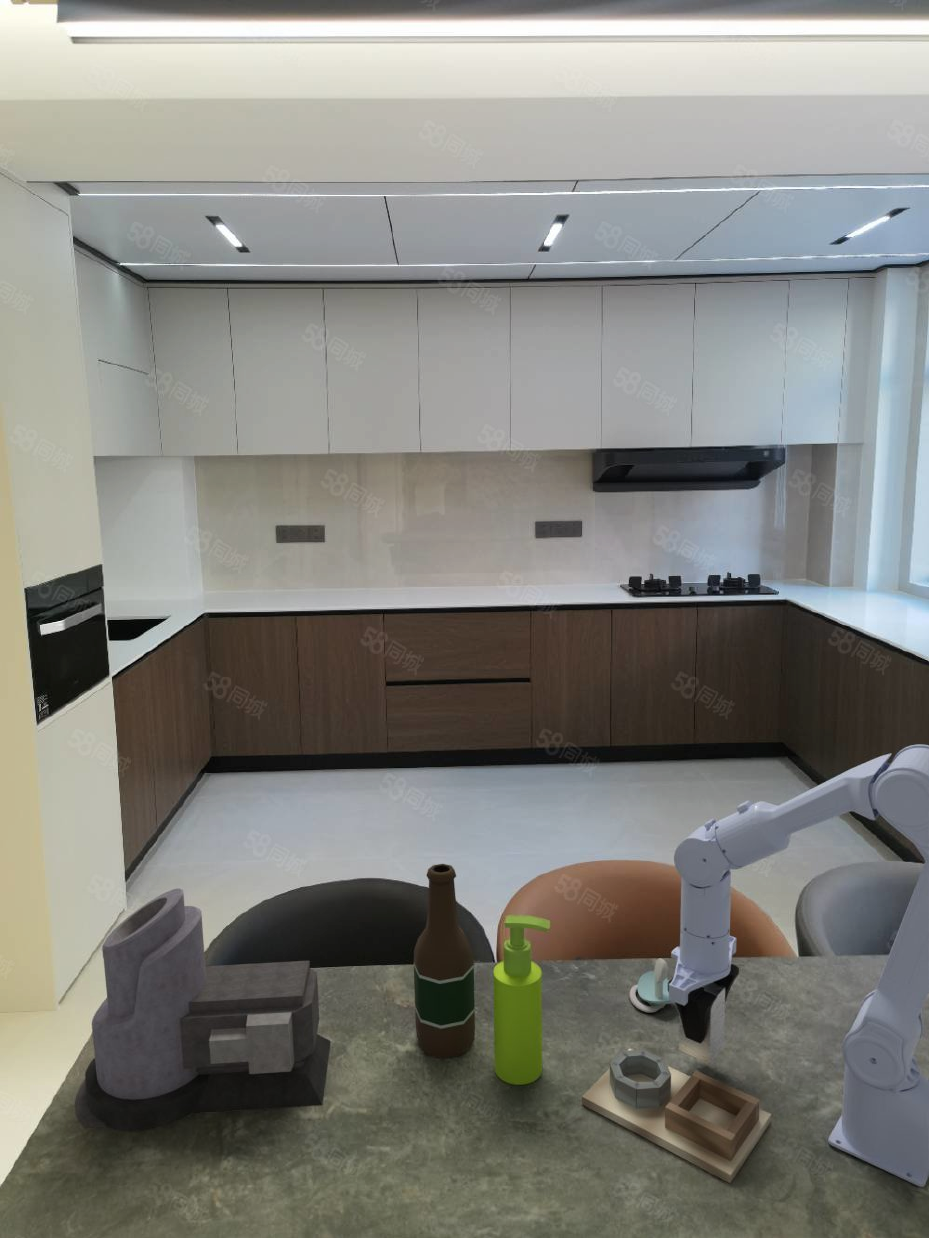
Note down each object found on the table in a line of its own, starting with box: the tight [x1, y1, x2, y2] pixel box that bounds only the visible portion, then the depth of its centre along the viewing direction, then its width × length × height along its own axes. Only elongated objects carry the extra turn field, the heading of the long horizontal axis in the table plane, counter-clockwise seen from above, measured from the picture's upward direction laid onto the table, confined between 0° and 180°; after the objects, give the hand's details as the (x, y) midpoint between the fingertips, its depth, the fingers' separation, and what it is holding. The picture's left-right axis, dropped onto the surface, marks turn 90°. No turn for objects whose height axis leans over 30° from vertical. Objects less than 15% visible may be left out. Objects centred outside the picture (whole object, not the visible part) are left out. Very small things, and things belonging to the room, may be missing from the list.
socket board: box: [581, 1048, 772, 1184], centre depth 98 cm, size 18×11×4 cm, turn 50°
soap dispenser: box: [492, 914, 551, 1086], centre depth 104 cm, size 6×7×20 cm
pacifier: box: [629, 958, 675, 1013], centre depth 119 cm, size 7×6×6 cm
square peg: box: [678, 982, 726, 1065], centre depth 104 cm, size 4×4×8 cm
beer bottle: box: [413, 863, 476, 1060], centre depth 109 cm, size 8×8×24 cm
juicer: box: [74, 888, 332, 1132], centre depth 103 cm, size 30×16×24 cm, turn 94°
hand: (702, 1029), depth 104 cm, fingers closed on square peg, 4 cm apart
